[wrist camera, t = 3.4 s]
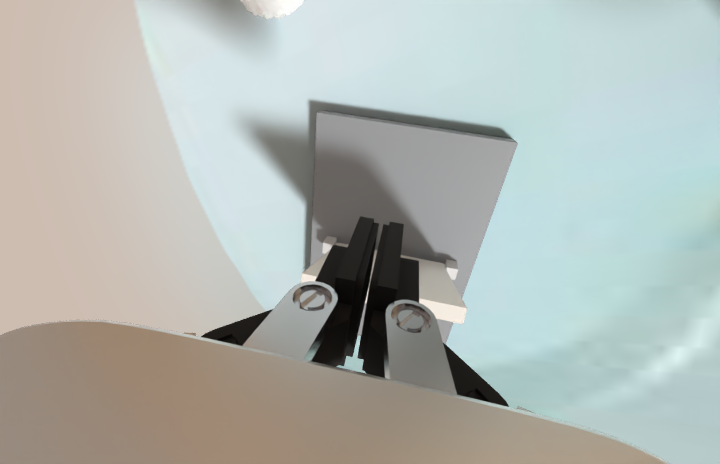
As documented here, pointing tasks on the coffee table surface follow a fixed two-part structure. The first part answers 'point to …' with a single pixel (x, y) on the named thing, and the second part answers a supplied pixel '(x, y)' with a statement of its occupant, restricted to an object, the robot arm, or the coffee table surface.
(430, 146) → the board
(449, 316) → the tile
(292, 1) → the sitting furry creature
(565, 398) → the coffee table surface
